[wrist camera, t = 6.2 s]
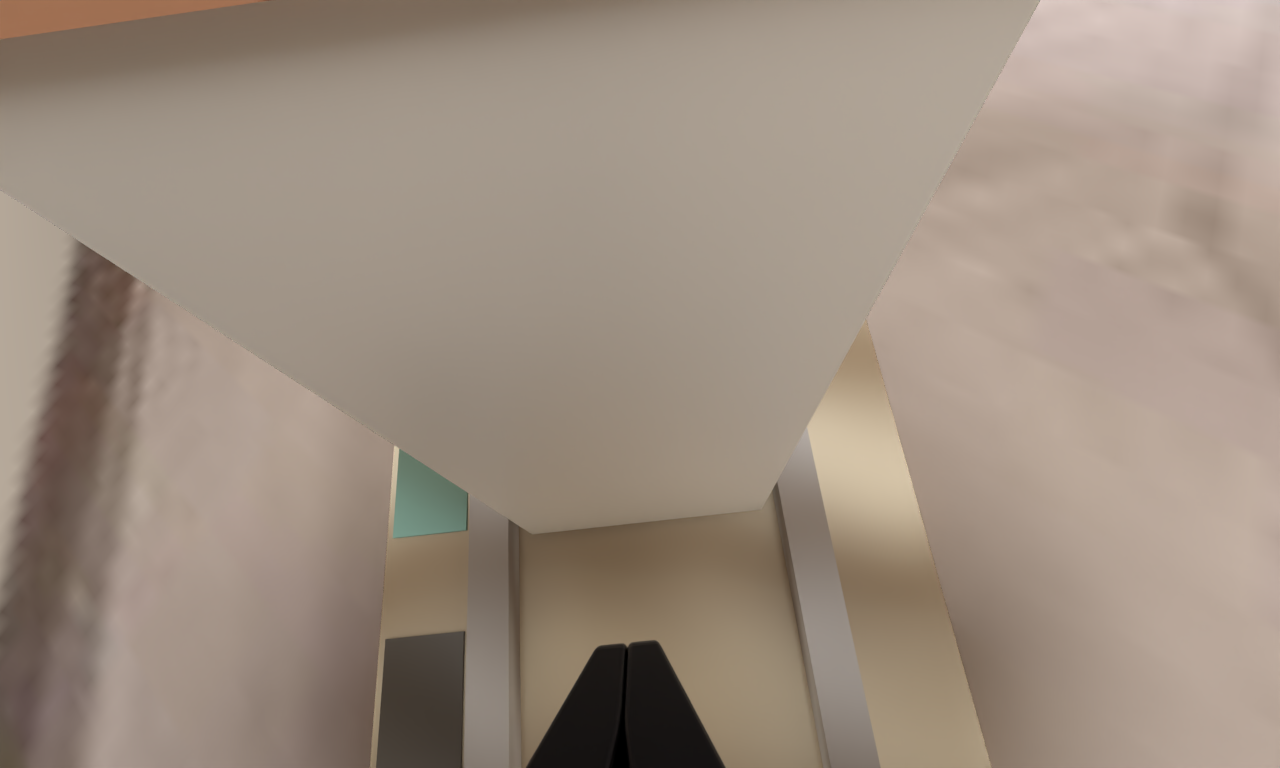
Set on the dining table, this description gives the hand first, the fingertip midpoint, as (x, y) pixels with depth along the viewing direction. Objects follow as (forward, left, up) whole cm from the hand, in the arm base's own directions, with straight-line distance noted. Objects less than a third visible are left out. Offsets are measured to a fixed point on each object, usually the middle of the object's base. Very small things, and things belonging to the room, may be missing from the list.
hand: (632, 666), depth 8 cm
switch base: (+2, +1, -8) cm, 8 cm away
